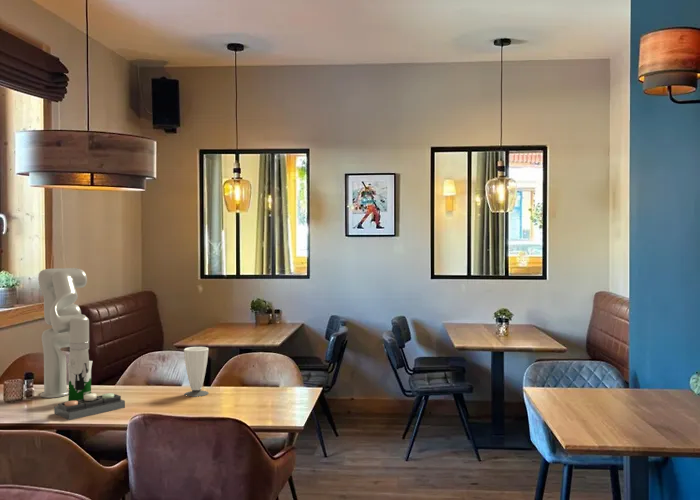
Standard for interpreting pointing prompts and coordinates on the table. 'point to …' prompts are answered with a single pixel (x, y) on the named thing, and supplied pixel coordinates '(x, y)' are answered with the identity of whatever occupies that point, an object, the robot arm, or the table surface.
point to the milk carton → (79, 394)
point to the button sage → (107, 395)
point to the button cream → (90, 397)
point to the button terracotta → (71, 403)
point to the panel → (89, 407)
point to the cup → (196, 369)
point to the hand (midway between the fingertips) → (79, 389)
